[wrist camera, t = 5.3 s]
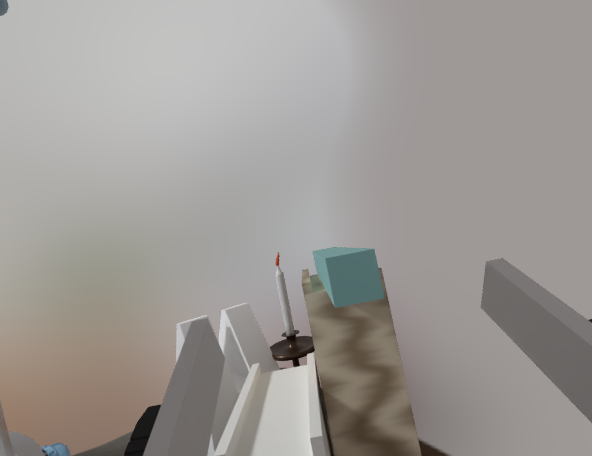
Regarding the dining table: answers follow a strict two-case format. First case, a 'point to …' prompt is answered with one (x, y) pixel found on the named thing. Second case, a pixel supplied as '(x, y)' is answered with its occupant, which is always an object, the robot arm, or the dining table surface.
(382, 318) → the stand
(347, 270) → the bar
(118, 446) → the dining table surface
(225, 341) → the white slotted block
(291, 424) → the white lidded box
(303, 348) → the candlestick
